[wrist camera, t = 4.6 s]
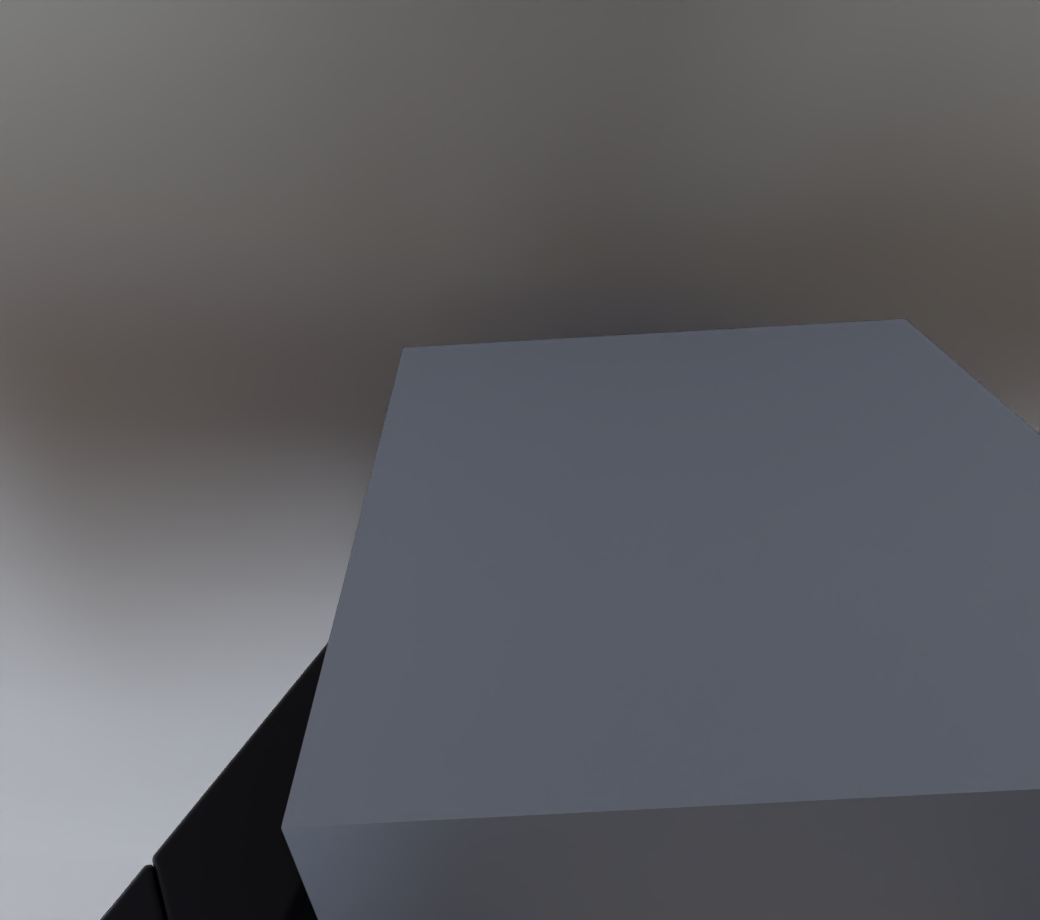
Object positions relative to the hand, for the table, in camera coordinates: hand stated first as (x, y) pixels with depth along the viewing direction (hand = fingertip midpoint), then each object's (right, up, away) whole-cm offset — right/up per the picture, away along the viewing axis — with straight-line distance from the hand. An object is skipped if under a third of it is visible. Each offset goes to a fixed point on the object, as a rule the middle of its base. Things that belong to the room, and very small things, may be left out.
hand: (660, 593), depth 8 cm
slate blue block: (0, +1, +1) cm, 1 cm away
